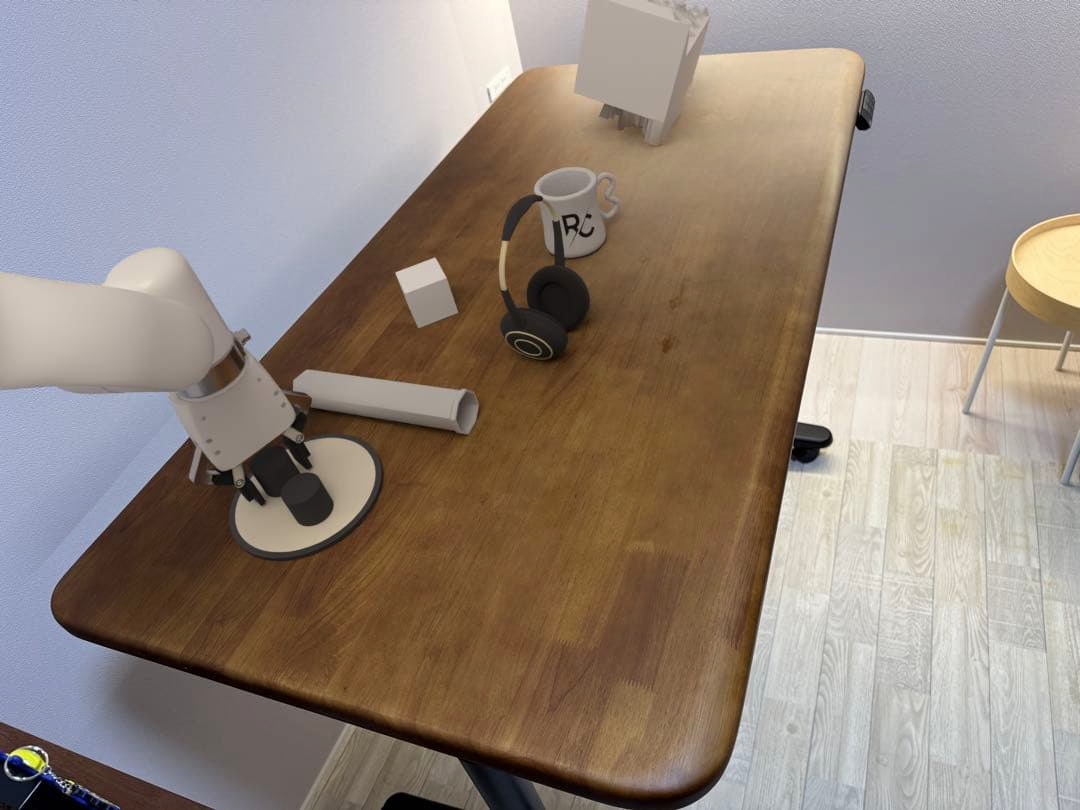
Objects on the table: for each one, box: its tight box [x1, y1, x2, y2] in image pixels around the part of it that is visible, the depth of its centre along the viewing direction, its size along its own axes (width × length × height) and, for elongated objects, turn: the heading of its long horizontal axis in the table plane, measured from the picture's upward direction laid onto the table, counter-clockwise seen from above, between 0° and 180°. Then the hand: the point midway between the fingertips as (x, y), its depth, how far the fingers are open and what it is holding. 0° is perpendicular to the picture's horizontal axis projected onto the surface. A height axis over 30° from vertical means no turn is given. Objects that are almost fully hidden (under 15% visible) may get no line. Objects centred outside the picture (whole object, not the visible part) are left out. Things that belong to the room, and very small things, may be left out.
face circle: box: [228, 433, 384, 562], centre depth 89 cm, size 18×18×1 cm
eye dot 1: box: [248, 445, 300, 497], centre depth 89 cm, size 4×4×4 cm
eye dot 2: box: [281, 472, 334, 526], centre depth 85 cm, size 4×4×4 cm
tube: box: [292, 368, 480, 436], centre depth 95 cm, size 5×5×25 cm
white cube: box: [395, 257, 459, 329], centre depth 109 cm, size 6×6×6 cm
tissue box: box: [573, 0, 712, 147], centre depth 129 cm, size 20×16×25 cm
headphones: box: [498, 193, 591, 360], centre depth 93 cm, size 9×15×20 cm, turn 154°
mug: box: [533, 166, 621, 259], centre depth 112 cm, size 12×9×10 cm
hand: (280, 480), depth 90 cm, fingers open, 5 cm apart
